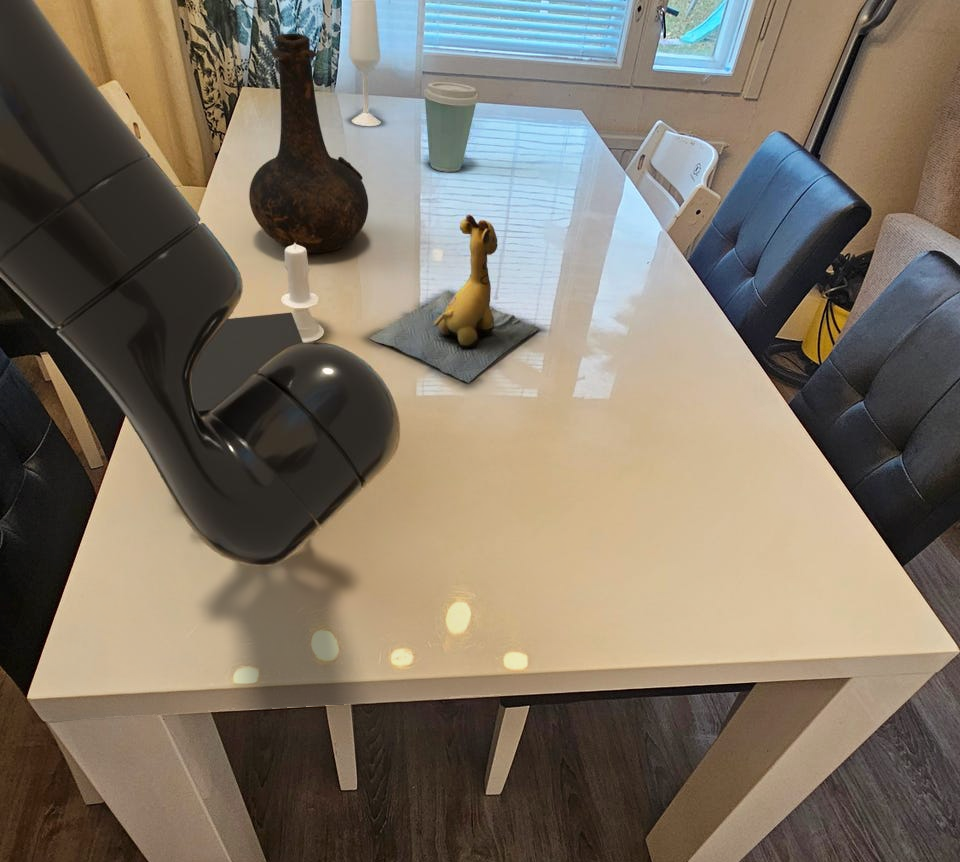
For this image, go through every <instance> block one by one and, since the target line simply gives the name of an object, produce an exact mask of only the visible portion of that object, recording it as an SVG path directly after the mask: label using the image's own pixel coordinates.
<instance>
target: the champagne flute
mask: <svg viewBox="0 0 960 862" xmlns="http://www.w3.org/2000/svg"><path fill="white" fill-rule="evenodd" d="M377 16H378V15H377V5H376V0H350V22H349V23H350V25H349V43H348V44H349V47H348V48H349V49H348V56H349V59H350V62H351V63H352V64H353V65H354V66H355V68H356V69H357V70H358V72H360V73H362V107H363V110H362V111H363V112H361V113H360V114H359V115H357V116H355V117H353V118H352V119H351V123H352V124H355V125H357V126H362V127H376V126H379V125H381V124H382V122H381V120H379V119H378V118H377V117H375V116H374V115H373V114H371V113H370V112H369V111H370V110H369V109H370V108H369V73H371V72H372V71H373V70H374V69H375V68H376V66H377V65H378V64H379V62H380V60H381V51H380V49H381V48H380V38H379V27H378V17H377Z"/></svg>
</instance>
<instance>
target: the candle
mask: <svg viewBox="0 0 960 862" xmlns="http://www.w3.org/2000/svg"><path fill="white" fill-rule="evenodd" d="M284 269H285V271H286V277H287V284H288V292H287V293H285V294H284V295H282V296H281V299H280V301H281V303H282V304H283V305H284V306H285V307H287V308H290V309H293V312H292V315H293V318H294V320H295V323H296V326H297V328H298V331H299V333H300V336H301V338H302V341H303V343H307V342H316V341H317V340H319V339H321V338H322V337H323V335H324V334H325V331H324V327H322V326H321V325H320V324H319V323H318V320H317V318H315V317H314V316H313V315H312V313H311V312H310V310H309V309H310V308H313V307H316V305H317V304H318V303H319V302H320V298H319V296H318V295H317V294H315V293H313V292H311V290H310V281H309V280H310V279H309V274H310V267H309V261H308V252H307V251H306V248H304V247H302V246H299V245H297V244H296V243H294V244H293V245H291V246H288V247H285V249H284Z"/></svg>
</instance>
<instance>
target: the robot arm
mask: <svg viewBox="0 0 960 862" xmlns="http://www.w3.org/2000/svg"><path fill="white" fill-rule="evenodd" d="M199 222H201V217H200V216H199V214H198V213H197V212H196V210H195V209H194V208H193V207H192V205H191V204H190V203H189V201H188V200H187V199H186V198H185V197H184V196H183V194H182V193H181V192H180V190H179V189H178V188H177V186H176V185H175V184H174V183H173V182H172V180H171V179H170V178H169V177H168V175H167V174H166V173H165V172H164V170H163V169H162V168H161V166H160V165H159V164H158V163H157V161H156V160H155V159H154V158H153V157H151V154H150V153H149V151H148V150H147V149H146V148H145V146H144V145H143V144H142V143H141V141H140V140H139V139H138V138H137V136H136V135H135V134H134V133H133V132H132V130H131V129H130V128H129V127H128V125H127V124H126V123H125V121H124V120H123V119H122V118H121V117H120V116H119V114H118V113H117V112H116V110H115V109H114V108H113V106H111V104H110V103H109V102H108V100H107V99H106V97H105V96H104V95H103V94H102V92H101V90H99V88H98V87H97V86H96V84H95V83H94V81H93V80H92V79H91V77H90V76H89V75H88V74H87V72H86V71H85V70H84V69H83V67H82V66H81V64H80V63H79V62H78V60H77V59H76V58H75V56H74V55H73V53H72V52H71V50H69V48H68V46H67V45H66V44H65V42H64V41H63V39H62V38H61V37H60V35H59V33H57V31H56V30H55V28H54V27H53V25H52V23H50V21H49V20H48V19H47V16H45V14H44V13H43V11H42V9H41V8H40V7H39V5H38V3H36V0H0V278H1V279H2V280H3V281H4V282H5V283H6V284H7V285H8V286H9V287H10V288H11V289H12V290H13V291H14V293H16V295H18V296H19V297H20V298H21V299H22V300H23V301H24V302H25V303H26V304H27V305H28V307H30V309H32V310H33V311H34V312H35V313H36V314H37V315H38V316H39V317H40V318H41V320H43V322H45V323H46V324H47V325H48V326H49V328H51V329H52V330H56V329H57V330H56V335H57V336H58V337H59V338H61V339H62V341H64V343H65V344H66V345H67V346H68V347H69V348H70V349H71V350H72V351H73V352H74V353H75V354H76V356H77V357H78V358H79V359H80V360H81V361H82V362H83V363H84V365H85V366H86V367H87V368H88V369H89V370H90V372H92V374H93V375H94V376H95V377H96V378H97V380H98V381H99V382H100V383H101V385H102V387H103V388H105V390H106V391H107V392H108V393H109V395H110V396H111V397H112V399H113V401H114V402H115V403H116V404H117V406H118V408H119V409H120V410H121V412H122V413H123V415H124V416H125V417H126V418H127V420H128V422H129V424H130V425H131V427H132V428H133V430H134V431H135V433H136V435H137V437H138V438H139V440H140V441H141V443H142V444H143V446H144V448H145V450H146V452H147V453H148V455H149V457H150V459H151V460H152V462H153V464H154V466H155V468H156V470H157V472H158V473H159V475H160V477H161V479H162V481H163V483H164V484H165V487H166V488H167V490H168V492H169V494H170V495H171V497H172V499H173V500H174V503H175V504H176V506H177V509H178V510H179V511H180V513H181V515H182V516H183V518H184V519H185V521H186V523H187V524H188V525H189V527H190V528H191V529H192V530H193V532H194V533H195V535H197V537H198V538H199V539H200V540H201V541H202V543H204V544H205V545H206V546H207V547H208V548H210V549H211V550H212V551H213V552H215V553H217V554H218V555H219V556H221V557H223V558H225V559H227V560H229V561H232V562H235V563H237V564H241V565H246V566H249V567H250V566H252V567H268V566H275V565H278V564H281V563H282V562H284V561H285V560H287V559H289V558H290V557H292V556H293V555H294V554H296V552H298V551H299V550H300V549H301V548H302V547H304V546H305V544H306V543H308V542H309V541H310V540H311V539H312V538H313V537H314V536H315V535H316V534H317V533H318V532H319V531H320V529H321V528H324V526H326V524H328V522H329V521H331V520H332V519H333V518H334V517H335V516H336V515H337V514H338V513H339V512H341V510H342V509H344V508H345V506H346V505H347V504H348V503H350V502H351V501H352V500H353V499H354V498H355V497H356V496H357V495H358V494H359V493H360V492H361V491H362V489H364V488H366V487H367V486H368V485H369V484H370V483H371V482H372V481H373V480H375V478H377V477H378V475H379V474H380V473H381V472H383V471H384V470H385V469H386V468H387V466H388V465H389V464H390V462H391V461H392V459H393V458H394V456H395V454H396V453H397V449H398V446H399V443H400V436H401V423H400V415H399V413H398V412H399V411H398V407H397V405H396V402H395V400H394V397H393V395H392V392H391V391H390V389H389V387H388V386H387V384H386V382H385V381H384V380H383V379H382V377H381V376H380V374H379V373H378V372H377V371H376V370H375V369H374V368H373V367H372V366H371V364H369V363H368V362H367V361H366V360H364V359H363V358H361V357H360V356H358V355H357V354H356V353H354V352H353V351H350V350H348V349H346V348H344V347H341V346H339V345H336V344H332V343H329V342H323V341H322V342H321V341H312V342H306V343H301V344H297V345H294V346H291V347H289V348H287V349H285V350H283V351H282V352H280V353H279V354H277V355H276V356H275V357H273V358H272V359H271V360H270V361H268V362H267V363H266V364H265V365H264V366H262V367H261V368H260V369H259V370H258V371H257V372H256V374H254V375H252V376H251V377H249V378H248V379H247V380H246V381H245V382H243V383H242V384H241V385H240V386H239V387H237V388H236V389H235V390H234V391H233V392H232V393H230V394H229V395H228V396H227V397H226V398H224V399H223V400H222V401H221V402H220V403H218V404H217V405H216V406H215V407H214V408H213V409H211V410H210V411H209V413H206V414H205V415H203V416H202V417H201V416H200V414H199V412H198V410H197V408H196V405H195V402H194V398H193V390H192V377H193V370H194V367H195V365H196V363H197V361H198V359H199V357H200V356H201V354H202V352H203V350H204V349H205V348H206V346H207V345H208V343H209V342H210V341H211V339H212V338H213V337H214V336H215V334H216V333H217V332H218V331H219V329H220V328H221V327H222V326H223V324H224V323H225V322H226V320H227V319H230V317H231V315H232V313H234V311H235V309H236V308H237V306H238V304H239V302H240V300H241V298H242V294H243V289H244V283H243V278H242V275H241V272H240V271H239V268H238V266H237V265H236V263H235V261H234V260H233V259H232V257H231V255H230V254H229V253H228V251H227V250H226V249H225V248H224V246H223V245H222V243H221V242H220V241H219V240H218V238H217V237H216V236H215V235H214V233H213V232H212V231H211V229H209V227H208V226H207V225H206V223H204V222H201V223H199Z"/></svg>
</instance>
